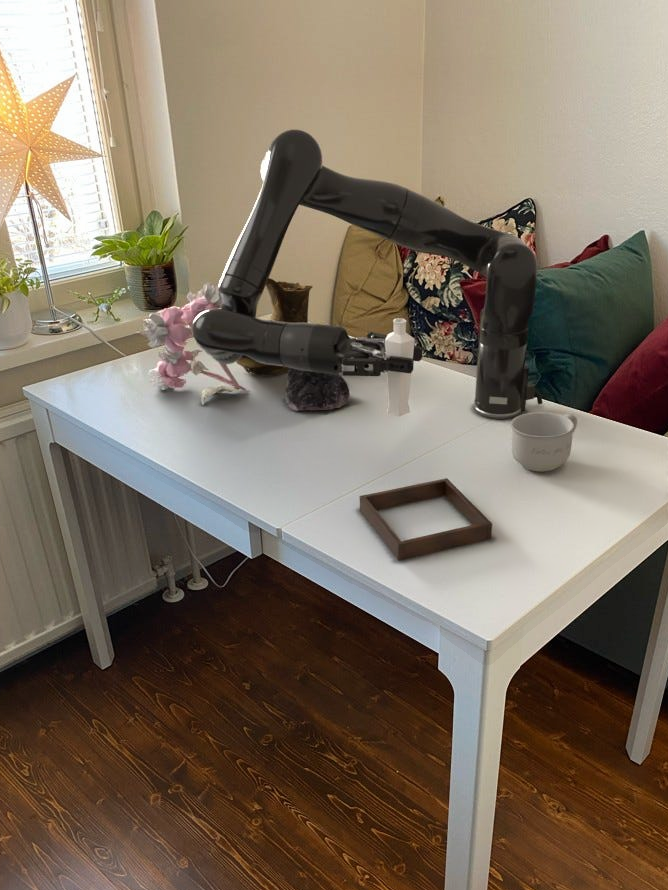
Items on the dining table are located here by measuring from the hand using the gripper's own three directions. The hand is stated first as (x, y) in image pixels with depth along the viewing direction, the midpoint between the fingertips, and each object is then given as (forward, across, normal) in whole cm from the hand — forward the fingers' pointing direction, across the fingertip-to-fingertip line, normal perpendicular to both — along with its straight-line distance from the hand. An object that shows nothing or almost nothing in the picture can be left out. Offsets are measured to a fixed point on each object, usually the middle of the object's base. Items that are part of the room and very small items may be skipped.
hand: (416, 360), depth 136 cm
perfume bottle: (-3, 0, +9) cm, 10 cm away
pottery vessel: (-45, +42, +23) cm, 66 cm away
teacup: (+20, +16, +23) cm, 34 cm away
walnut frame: (+5, -11, +23) cm, 26 cm away
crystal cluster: (-28, +29, +23) cm, 47 cm away
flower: (-55, +25, +23) cm, 65 cm away
